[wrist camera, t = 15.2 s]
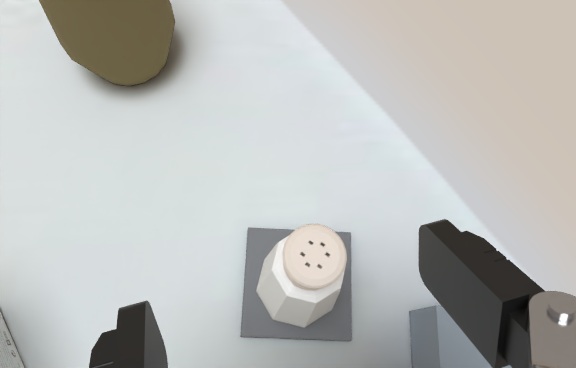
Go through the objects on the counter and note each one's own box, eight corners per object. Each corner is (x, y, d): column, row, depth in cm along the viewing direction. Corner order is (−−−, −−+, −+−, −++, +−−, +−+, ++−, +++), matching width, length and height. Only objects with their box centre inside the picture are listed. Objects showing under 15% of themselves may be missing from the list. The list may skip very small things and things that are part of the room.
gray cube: (494, 396, 29) (538, 407, 24) (413, 393, 29) (442, 403, 24) (485, 314, 31) (526, 309, 26) (409, 311, 30) (436, 305, 26)
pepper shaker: (307, 346, 29) (331, 348, 18) (238, 293, 30) (225, 267, 19) (354, 276, 30) (401, 241, 20) (288, 228, 31) (300, 171, 21)
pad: (349, 340, 30) (351, 340, 29) (241, 336, 29) (240, 336, 29) (349, 234, 32) (350, 232, 31) (248, 229, 32) (247, 227, 31)
